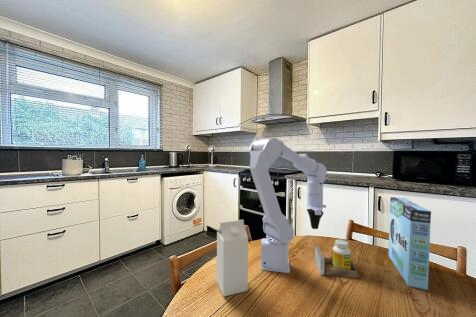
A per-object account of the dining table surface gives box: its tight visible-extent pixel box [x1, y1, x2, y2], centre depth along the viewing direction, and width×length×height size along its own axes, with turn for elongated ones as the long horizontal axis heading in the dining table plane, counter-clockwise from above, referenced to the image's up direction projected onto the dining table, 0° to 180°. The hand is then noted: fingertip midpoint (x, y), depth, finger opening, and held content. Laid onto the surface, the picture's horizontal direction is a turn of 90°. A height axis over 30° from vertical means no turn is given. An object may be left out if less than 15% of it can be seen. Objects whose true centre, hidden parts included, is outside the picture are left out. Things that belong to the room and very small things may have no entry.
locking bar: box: [314, 245, 326, 276], centre depth 68 cm, size 1×10×5 cm, turn 168°
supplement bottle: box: [332, 238, 352, 270], centre depth 67 cm, size 5×5×10 cm
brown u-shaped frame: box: [323, 256, 361, 280], centre depth 67 cm, size 10×8×2 cm
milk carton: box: [216, 219, 249, 297], centre depth 58 cm, size 7×7×19 cm
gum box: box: [388, 197, 432, 291], centre depth 66 cm, size 20×5×23 cm, turn 157°
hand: (314, 228), depth 78 cm, fingers closed
